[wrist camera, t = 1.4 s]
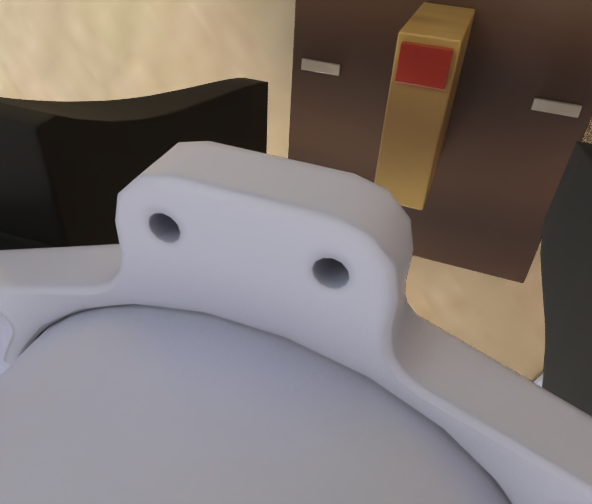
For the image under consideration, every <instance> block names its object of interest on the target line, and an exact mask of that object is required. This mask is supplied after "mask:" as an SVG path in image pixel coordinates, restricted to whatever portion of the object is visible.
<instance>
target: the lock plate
mask: <svg viewBox="0 0 592 504" xmlns="http://www.w3.org/2000/svg"><path fill="white" fill-rule="evenodd" d="M424 2H426V3H434V4H441V5H449V6H456V7H464V8H471V9H475V15H474V19H473V23H472V27H471V32H470V36H469V40H468V44H467V48H466V53H465V57H464V61H463V65H462V69H461V73H460V78H459V82H458V86H457V90H456V94H455V98H454V103H453V107H452V111H451V115H450V119H449V123H448V128H447V132H446V136H445V140H444V144H443V148H442V153H441V157H440V160H439V163H438V166H437V169H436V172H435V175H434V178H433V181H432V184H431V187H430V190H429V193H428V196H427V199H426V202H425V205H424V207H423V209H422V210H418V209H414V208H410V207H406V206H401V205H400V206H401V207H402V208H403V209H404V211H405V212H406V213H407V215H408V216H409V217H410V219H411V228H412V240H413V254H412V255H413V256H417V257H421V258H425V259H429V260H433V261H437V262H441V263H445V264H449V265H453V266H457V267H461V268H465V269H469V270H473V271H476V272H480V273H484V274H488V275H492V276H496V277H500V278H504V279H508V280H512V281H516V282H520V283H523V282H524V281H525V278H526V276H527V273H528V271H529V269H530V266H531V264H532V261H533V259H534V256H535V254H536V251H537V249H538V247H539V244H540V242H541V239H542V233H543V225H544V218H545V216H546V214H547V211H548V209H549V206H550V204H551V202H552V199H553V197H554V195H555V192H556V190H557V187H558V185H559V183H560V180H561V178H562V175H563V173H564V171H565V168H566V166H567V163H568V161H569V159H570V156H571V154H572V152H573V149H574V147H575V144H576V142H577V141H579V142H581V141H582V139H583V137H584V134H585V132H586V129H587V127H588V124H589V122H590V119H591V117H592V0H296V8H295V29H294V49H293V70H292V91H291V111H290V132H289V153H288V159H292V160H296V161H301V162H305V163H310V164H314V165H319V166H323V167H327V168H332V169H336V170H341V171H345V172H350V173H354V174H356V175H358V176H360V177H363V178H365V179H367V180H369V181H371V182H373V183H374V181H375V175H376V168H377V162H378V156H379V150H380V144H381V137H382V131H383V125H384V119H385V113H386V107H387V100H388V94H389V88H390V82H391V76H392V69H393V63H394V57H395V51H396V45H397V38H398V33H399V31H400V30H401V29H402V28H403V26H404V25H405V24H406V23H407V22H408V20H409V19H410V18H411V17H412V16H413V14H414V13H415V12H416V11H417V10H418V8H419V7H420V6H421V5H422V4H423V3H424Z"/></svg>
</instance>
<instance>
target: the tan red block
mask: <svg viewBox="0 0 592 504" xmlns="http://www.w3.org/2000/svg"><path fill="white" fill-rule="evenodd" d="M474 15H475V9H471V8H464V7H456V6H449V5H441V4H434V3H426V2H424V3H423V4H422V5H421V6H420V7H419V8H418V10H417V11H416V12H415V13H414V14H413V16H412V17H411V18H410V19H409V20H408V22H407V23H406V24H405V25H404V26H403V28H402V29H401V30H400V31H399V33H398V38H397V45H396V51H395V57H394V63H393V69H392V76H391V82H390V88H389V94H388V100H387V107H386V113H385V119H384V125H383V131H382V137H381V144H380V150H379V156H378V162H377V168H376V175H375V181H374V183H375V184H377V185H379V186H381V187H383V188H385V189H387V190H389V191H390V192H391V194H392V195H393V196H394V198H395V199H396V200H397V202H398V203H399V204H400V205H401V206H406V207H410V208H414V209H418V210H422V209H423V207H424V205H425V202H426V199H427V196H428V193H429V190H430V187H431V184H432V181H433V178H434V175H435V172H436V169H437V166H438V163H439V160H440V157H441V153H442V148H443V144H444V140H445V136H446V132H447V128H448V123H449V119H450V115H451V111H452V107H453V103H454V98H455V94H456V90H457V86H458V82H459V78H460V73H461V69H462V65H463V61H464V57H465V53H466V48H467V44H468V40H469V36H470V32H471V27H472V23H473V19H474Z"/></svg>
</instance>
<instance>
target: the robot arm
mask: <svg viewBox="0 0 592 504" xmlns="http://www.w3.org/2000/svg"><path fill="white" fill-rule="evenodd" d="M267 103H268V82H264V81H258V80H253V79H248V78H234V79H228V80H222V81H217V82H213V83H208V84H204V85H199V86H195V87H191V88H186V89H182V90H177V91H172V92H167V93H162V94H156V95H151V96H145V97H138V98H131V99H121V100H110V101H80V102H56V101H35V100H21V99H11V98H3V97H0V504H592V144H589V143H584V142H579V141H577V142H576V144H575V147H574V149H573V152H572V154H571V156H570V159H569V161H568V163H567V166H566V168H565V171H564V173H563V175H562V178H561V180H560V183H559V185H558V187H557V190H556V192H555V195H554V197H553V199H552V202H551V204H550V206H549V209H548V211H547V214H546V216H545V218H544V225H543V233H542V242H541V252H540V254H541V272H542V287H543V302H544V316H545V356H544V370H543V374H541V375H540V376H539V377H538V378H537V379H536V380H535V381H534V382H532V381H530V380H528V379H527V378H525V377H523V376H521V375H520V374H518V373H516V372H515V371H513V370H511V369H509V368H508V367H506V366H504V365H503V364H501V363H499V362H498V361H496V360H494V359H492V358H491V357H489V356H487V355H486V354H484V353H482V352H480V351H479V350H477V349H475V348H474V347H472V346H470V345H468V344H467V343H465V342H463V341H462V340H460V339H458V338H456V337H455V336H453V335H451V334H450V333H448V332H446V331H444V330H443V329H441V328H439V327H438V326H436V325H434V324H432V323H431V322H429V321H427V320H426V319H424V318H422V317H420V316H419V315H417V314H416V313H415V312H414V311H413V309H412V308H411V307H410V305H409V304H408V302H407V299H406V295H405V288H406V278H407V274H408V270H409V266H410V262H411V258H412V254H413V240H412V228H411V219H410V217H409V216H408V215H407V213H406V212H405V211H404V209H403V208H402V207H401V206H400V204H399V203H398V202H397V200H396V199H395V198H394V196H393V195H392V194H391V192H390V191H389V190H387V189H385V188H383V187H381V186H379V185H377V184H375V183H373V182H371V181H369V180H367V179H365V178H363V177H360V176H358V175H356V174H354V173H350V172H345V171H341V170H336V169H332V168H327V167H323V166H319V165H314V164H310V163H305V162H301V161H296V160H292V159H287V158H283V157H278V156H274V155H269V154H266V146H267Z"/></svg>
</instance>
